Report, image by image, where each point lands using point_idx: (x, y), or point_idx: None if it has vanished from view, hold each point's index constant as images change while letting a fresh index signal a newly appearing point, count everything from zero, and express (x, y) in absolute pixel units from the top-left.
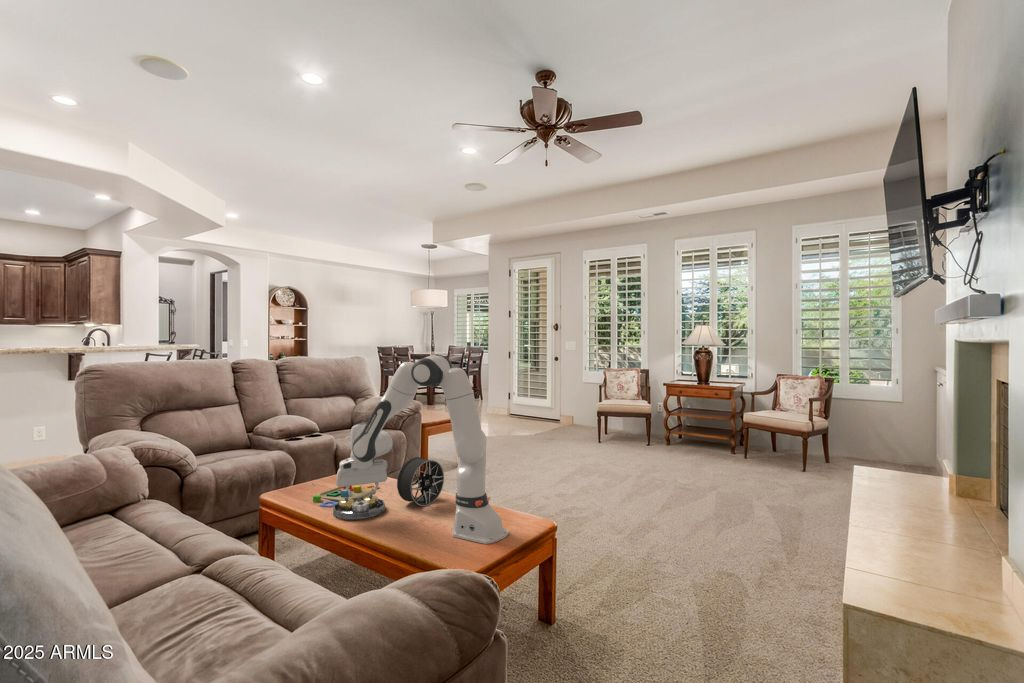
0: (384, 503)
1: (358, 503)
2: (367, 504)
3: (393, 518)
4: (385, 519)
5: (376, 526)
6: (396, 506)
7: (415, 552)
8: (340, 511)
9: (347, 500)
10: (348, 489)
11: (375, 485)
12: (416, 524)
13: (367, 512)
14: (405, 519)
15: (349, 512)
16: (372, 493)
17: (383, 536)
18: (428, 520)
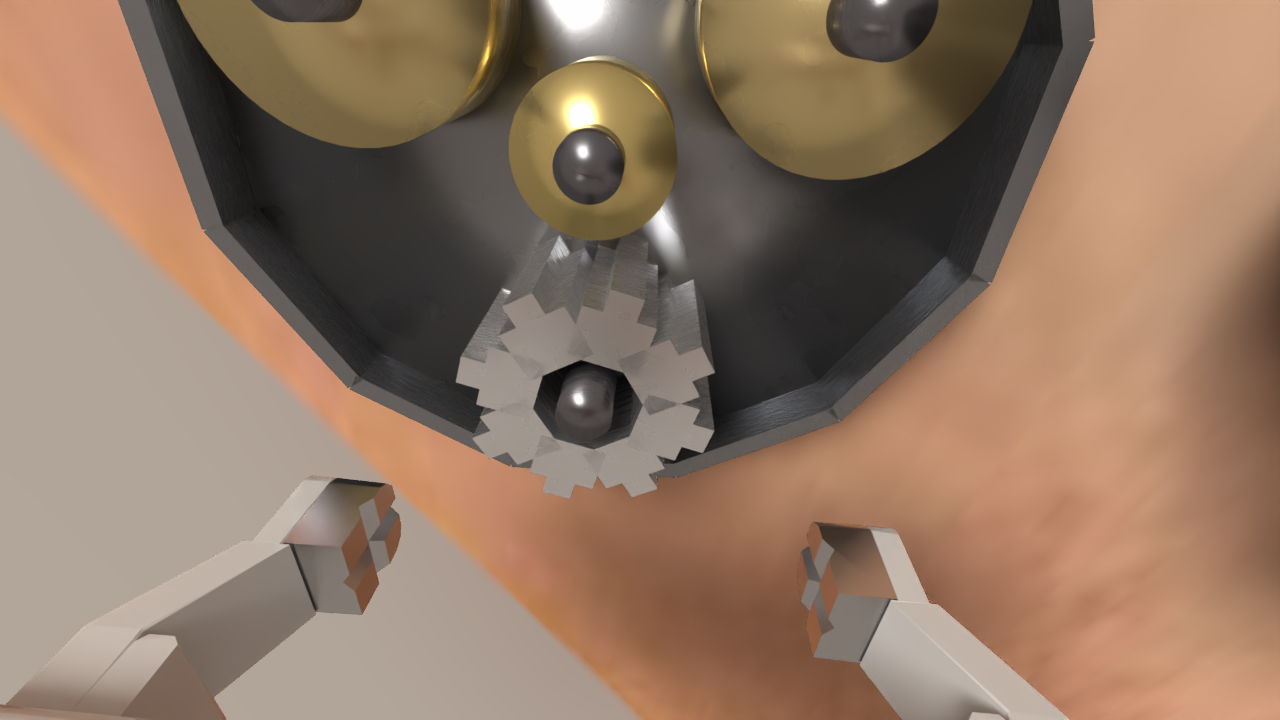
0: (1008, 235)
1: (557, 366)
2: (686, 442)
3: (907, 495)
4: (828, 489)
5: (703, 582)
6: (1192, 131)
7: None
8: (320, 149)
9: (343, 16)
10: (226, 672)
11: (956, 681)
12: (999, 645)
13: (665, 474)
14: (989, 548)
15: (459, 249)
16: (798, 572)
17: (704, 706)
18: (1135, 622)
